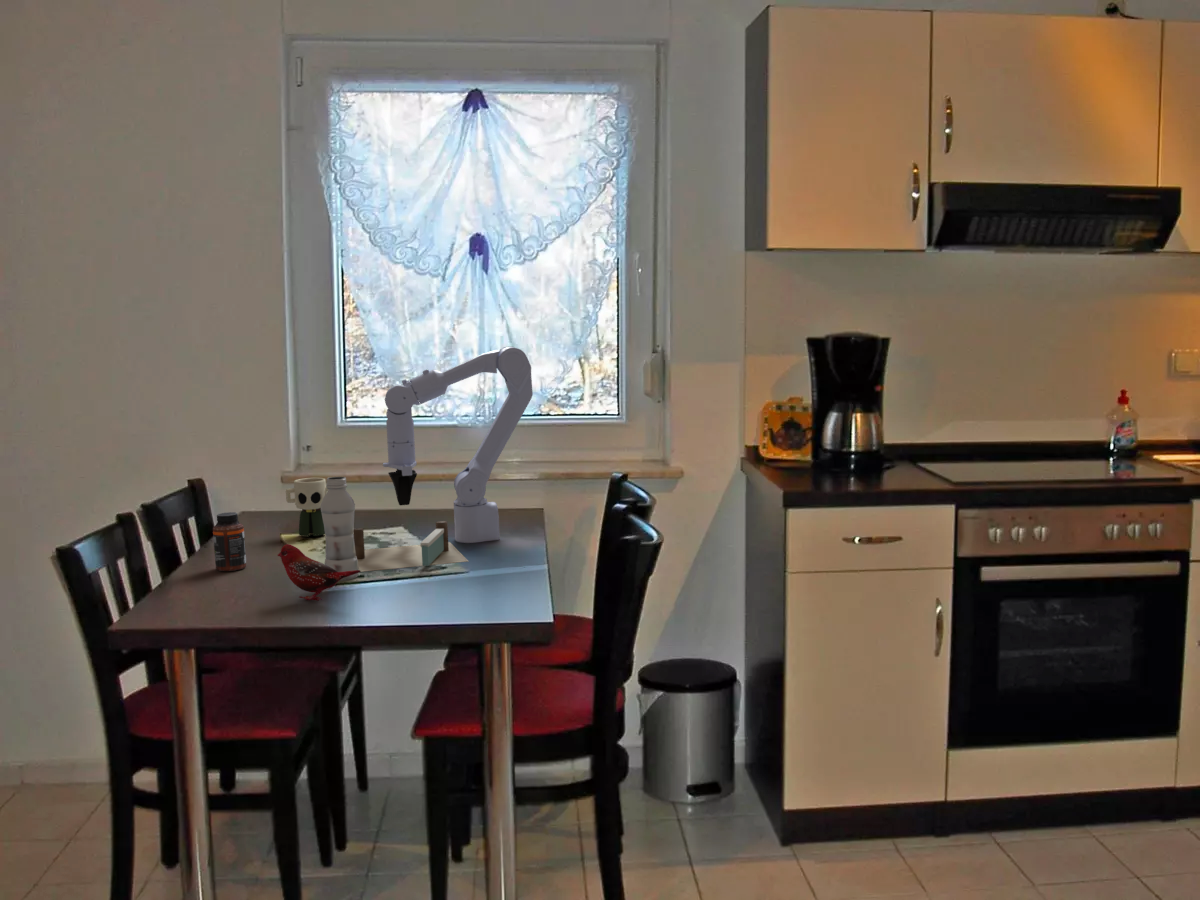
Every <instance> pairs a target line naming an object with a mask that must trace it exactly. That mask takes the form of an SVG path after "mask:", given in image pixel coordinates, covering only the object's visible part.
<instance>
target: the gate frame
mask: <svg viewBox="0 0 1200 900" xmlns="http://www.w3.org/2000/svg"><path fill="white" fill-rule="evenodd" d="M448 527H449V525H448V521H445V520H440V521H436V522H435V529H444V533H443V540H444V550H443V551H442V552H441V553H440V554H439V555H438V557H437V558H436V559H435V560H434V561H433V562H432V563H431V564H430V565H429V566H436V565H445V564H456V563H467V562H468V563H469V560H468V559H467V558H466V557H465V555H463V554H462V553H461V552H460V551H459V550H458V549H457V548H456V547H455V545H454V544H453V543H451V541H449V529H448ZM353 534H354V544H355V552H356V557H357V560H358V565H359V570H360V571H361V572H360V573H362V572H363V573H364V572H373V571H383V570H395V569H405V568H413V567H423V566H422V547H421V546H420V544H415V545H414V544H412V545H402V546H393V547H392V546H391V547H390V546H389V547H381V548H380V547H379V548H371V549H365V537H364V534H365V533H364V528H361V527H359V528H358V527H357V528H354V532H353Z"/></svg>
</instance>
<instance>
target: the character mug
mask: <svg viewBox="0 0 1200 900" xmlns="http://www.w3.org/2000/svg"><path fill="white" fill-rule="evenodd" d="M326 486H327V479H326V478H325V477H324V478H323V477H306V478H305V477H304V478H299V479H295V480H294V481H293V488H287V489H285V497H286V498H285V500H286V502H287V503H288V504H293V503H294V505H295V507H296V508H297V509H299V510H301V511H300V513H299V519H298V520H299V522H298V535H299V536H301V537H310V534H312V536H313V537H316V536H319V537H321V536H322V535H325V529H324V523H323V518H322V512H321V503H322V500H323V498H324V497H325V495H326V494H327V492H328V489H327V488H326ZM292 493H293V494H294V497H293V498H292V497H291V494H292Z"/></svg>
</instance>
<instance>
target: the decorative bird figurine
mask: <svg viewBox="0 0 1200 900" xmlns="http://www.w3.org/2000/svg"><path fill="white" fill-rule="evenodd" d="M277 557H280V559H281V563H282V565H283V566H284V569H285V572H286V575H287V577H288V578H289V579H290V581H291V582H292V583H293V584H294V586H296V587H298V588H299V589H301V590H302V591H305V592H309V593H314V594H312V595H310V596H309V595H305V596H302V595H300V596H299V598H300V599H304V600H306V601H320V600H321V601H323V599H322V598H321V597H320V596H318V595H320V594H321V593H322V592H323V591H326V590H328V589H331V588H333V587H334V586H335V585H337V583H338V582H340V581H339V580H341V579H342V578H345V577H348V576H351V575H353V574H356V573H358V574H359V573H362V572H361V571H360V570H354V571H345V572H337V571H336V570H334V569H333V568H331V567H329V566H327V565H325V563H323V562H320V561H317V560H314V559H312V558H311V557H308V556H307V555H305V553H303V552H302V551H301V550H300V549H299V548H298V547H296V546H294V545H293V544H290V543H288V544H284V545H283V546H282V547H281V549H280V552H279V553H278V554H277Z"/></svg>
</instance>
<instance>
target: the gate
mask: <svg viewBox="0 0 1200 900" xmlns="http://www.w3.org/2000/svg"><path fill="white" fill-rule="evenodd" d="M443 533H444V529H436V528H435V529H434V530H432V532H431V533H430V534H428V535H427V537H425V538H424V539H422V541H421V542H420V544H419V545H420V546H421V547H422V566H421V567H425V566H426V567H427V566H428V567H429V566H431V565H430V564H431V563H432V562H433V561H434V560H435V559H436V558H437V557H438V555H439V554H440V553H441V552H442V551H443V550H444V540H443Z"/></svg>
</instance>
